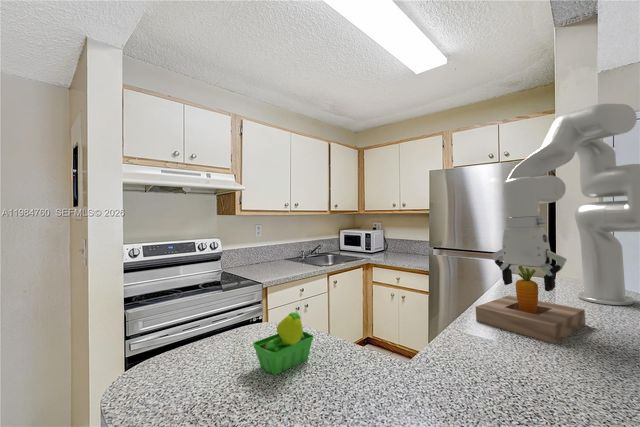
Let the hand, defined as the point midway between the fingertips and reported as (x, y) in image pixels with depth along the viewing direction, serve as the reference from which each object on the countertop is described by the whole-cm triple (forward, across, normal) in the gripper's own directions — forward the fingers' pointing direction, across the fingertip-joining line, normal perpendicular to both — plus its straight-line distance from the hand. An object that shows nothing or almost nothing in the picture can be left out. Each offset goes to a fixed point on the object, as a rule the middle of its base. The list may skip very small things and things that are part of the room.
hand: (527, 287), depth 77 cm
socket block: (+10, 0, +1) cm, 10 cm away
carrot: (+10, 0, +1) cm, 10 cm away
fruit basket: (+8, +19, +63) cm, 66 cm away
